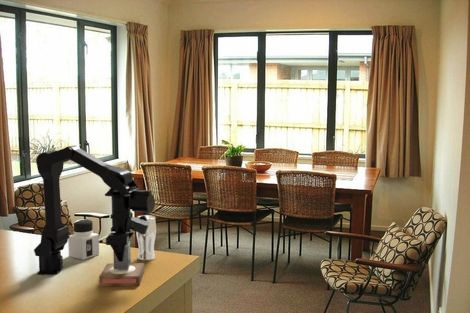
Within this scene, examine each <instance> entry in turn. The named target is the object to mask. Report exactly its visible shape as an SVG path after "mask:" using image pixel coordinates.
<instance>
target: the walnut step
mask: <svg viewBox="0 0 470 313" xmlns="http://www.w3.org/2000/svg"><path fill="white" fill-rule="evenodd" d="M144 274H145V263H144V262H136V263H135V262H131V265H130V267H129V269H114V262H113V263H110V262H109V263H106V265H105V266H104V268H103V270H102V272H101V273H100V275H99V276H98V281H99V282H98V283H99V284H98V286H99V287H125V286H127V287H128V286H129V287H132V286H135V287H136V286H140V284H141V283H142V280H143V276H144Z"/></svg>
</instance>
